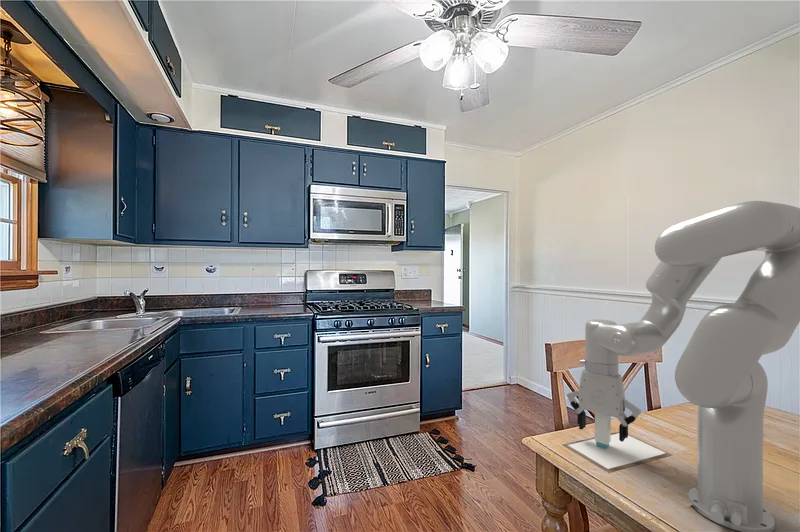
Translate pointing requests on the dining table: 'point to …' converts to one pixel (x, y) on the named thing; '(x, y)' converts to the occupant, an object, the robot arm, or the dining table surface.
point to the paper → (617, 451)
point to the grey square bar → (602, 430)
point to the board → (620, 466)
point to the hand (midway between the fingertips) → (601, 433)
